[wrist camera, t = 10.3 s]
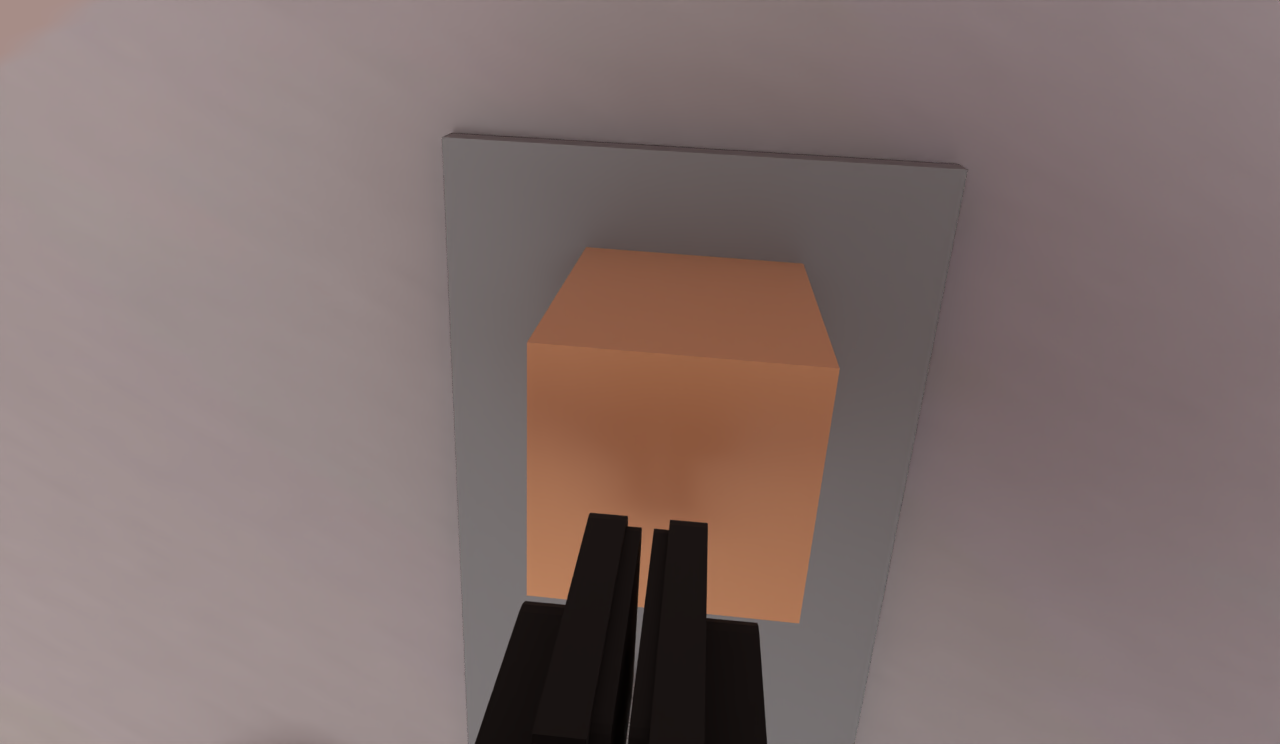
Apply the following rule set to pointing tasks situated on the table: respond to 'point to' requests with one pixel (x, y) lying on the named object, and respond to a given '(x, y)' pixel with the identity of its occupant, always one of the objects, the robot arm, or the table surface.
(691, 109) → the table surface
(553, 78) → the table surface
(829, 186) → the board
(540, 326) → the orange wooden cube
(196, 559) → the table surface
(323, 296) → the table surface
